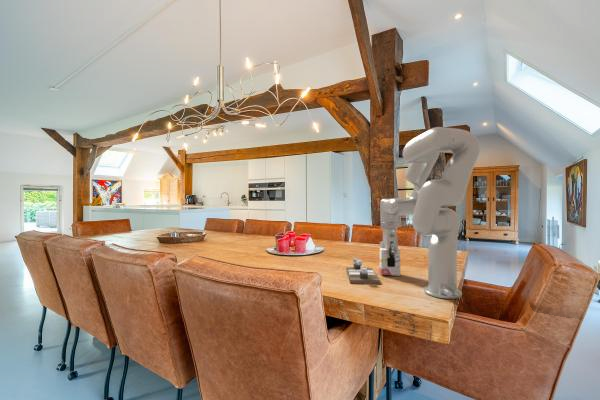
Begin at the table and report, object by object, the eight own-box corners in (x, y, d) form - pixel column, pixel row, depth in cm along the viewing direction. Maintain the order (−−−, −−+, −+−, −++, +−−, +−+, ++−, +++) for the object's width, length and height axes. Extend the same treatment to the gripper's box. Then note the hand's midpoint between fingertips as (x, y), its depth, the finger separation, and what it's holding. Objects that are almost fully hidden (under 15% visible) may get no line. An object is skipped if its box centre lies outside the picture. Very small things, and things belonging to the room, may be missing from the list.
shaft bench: (379, 283, 120) (379, 269, 120) (350, 283, 121) (349, 269, 121) (371, 270, 141) (371, 258, 141) (346, 270, 142) (346, 258, 142)
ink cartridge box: (381, 275, 131) (380, 242, 131) (379, 272, 136) (378, 241, 136) (401, 275, 130) (400, 242, 130) (398, 272, 135) (397, 241, 135)
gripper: (402, 227, 125) (403, 269, 125) (393, 223, 141) (393, 261, 141) (384, 227, 125) (385, 269, 125) (377, 224, 142) (378, 261, 142)
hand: (389, 264), depth 133 cm, fingers closed on ink cartridge box, 5 cm apart
